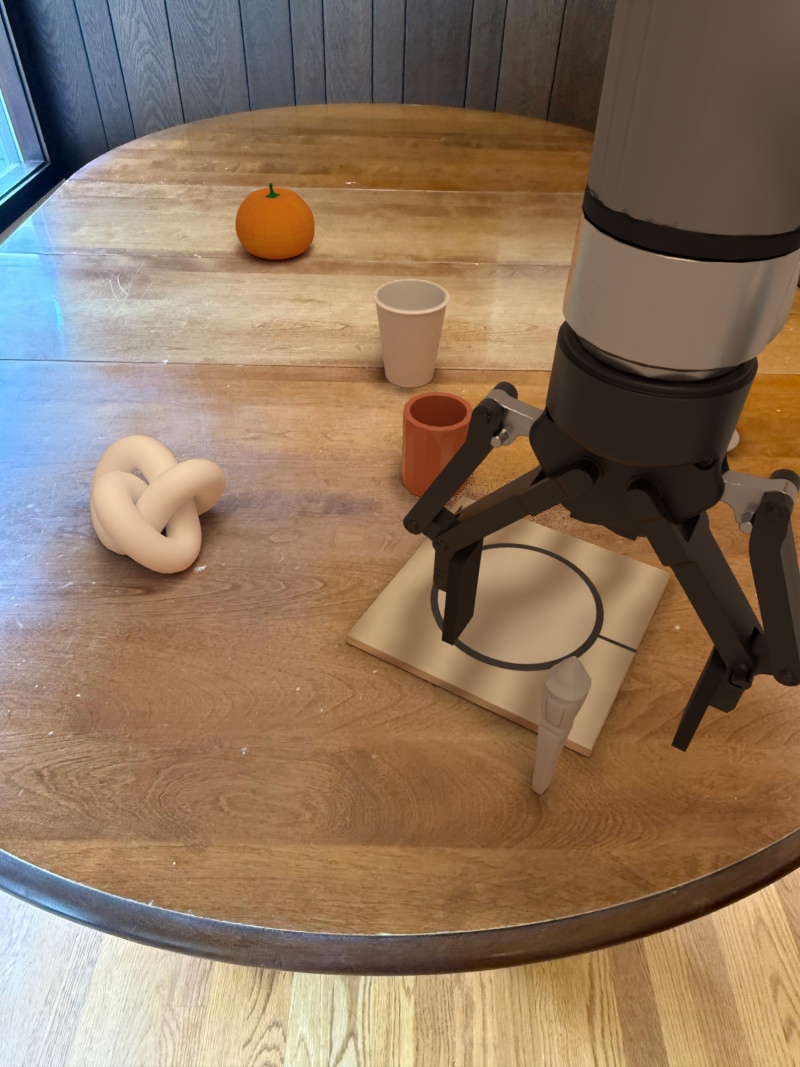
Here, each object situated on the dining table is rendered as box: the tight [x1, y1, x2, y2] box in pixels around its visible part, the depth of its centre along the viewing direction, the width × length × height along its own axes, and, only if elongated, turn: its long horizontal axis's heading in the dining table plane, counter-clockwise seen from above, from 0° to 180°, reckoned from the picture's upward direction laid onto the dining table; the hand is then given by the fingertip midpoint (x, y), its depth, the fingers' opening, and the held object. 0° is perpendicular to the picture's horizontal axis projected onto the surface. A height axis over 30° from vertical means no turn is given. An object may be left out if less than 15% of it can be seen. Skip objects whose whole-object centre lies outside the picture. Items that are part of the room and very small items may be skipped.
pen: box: [531, 656, 591, 796], centre depth 47 cm, size 2×3×14 cm
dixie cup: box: [372, 278, 451, 388], centre depth 88 cm, size 8×8×10 cm
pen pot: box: [401, 391, 474, 498], centre depth 74 cm, size 6×6×8 cm
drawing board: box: [346, 495, 672, 758], centre depth 63 cm, size 20×20×1 cm
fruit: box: [234, 182, 316, 261], centre depth 114 cm, size 12×12×10 cm
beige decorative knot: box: [89, 434, 227, 574], centre depth 66 cm, size 11×12×9 cm
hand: (564, 676), depth 44 cm, fingers open, 13 cm apart
